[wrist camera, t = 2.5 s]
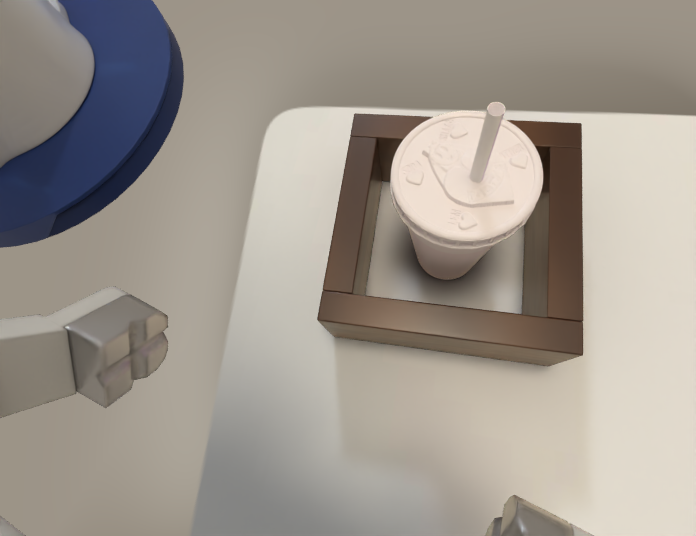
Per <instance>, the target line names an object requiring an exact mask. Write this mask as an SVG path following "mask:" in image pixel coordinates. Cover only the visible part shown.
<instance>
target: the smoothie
mask: <svg viewBox="0 0 696 536" xmlns="http://www.w3.org/2000/svg"><path fill="white" fill-rule="evenodd" d="M504 112H505V107H504V105H503V104H502V103H499V102H493V103H491V104H490V105H489V106H488V108H487V112H486V113H484V112H478V111H455V112H449V113H445V114H441V115H438V116H435V117H433V118H431V119H428V120H427V121H425V122H423V123H421V124H420V125H418V126H417V127H416V128H414V129H413V130H412V131H411V132H410V133H409V134H408V135H407V136H406V137H405V138H404V140H403V141H402V142H401V144H400V145H399V147H398V149H397V151H396V153H395V156H394V159H393V162H392V167H391V180H390V192H391V196H392V200H393V204H394V207H395V209H396V211H397V212H398V214H399V216H400V217H401V219H402V221H403V222H404V223H405V224H406V225H407V226H408V229H409V233H410V236H411V239H412V242H413V245H414V248H415V252H416V255H417V258H418V261H419V263H420V265H421V267H422V268H423V269H424V270H425V271H426V272H427V273H428V274H430V275H431V276H433V277H436V278H439V279H444V280H450V279H455V278H459V277H461V276H463V275H464V274H466V273H467V272H468V271H469V270H470V269H471V268H472V267H473V266H474V265H475V264H476V263H477V262H478V261H479V260H480V259H481V258H482V257H483V256H484V255H485V254H486V253H487V252H488V251H489V250H490V249H491V248H492V247H493V246H494V244H496V243H498V242H500V241H502V240H504V239H506V238H508V237H510V236H512V235H513V234H514V233H515V232H516V231H517V230H518V229H519V228H521V227H522V226H523V225H524V224H525V223H526V221H527V220H528V218H529V216H530V215H531V213H532V211H533V210H534V208H535V205H536V203H537V201H538V199H539V196H540V193H541V190H542V185H543V168H542V162H541V159H540V156H539V154H538V151H537V150H536V148H535V146H534V144H533V143H532V142H531V140H530V139H529V138H528V137H527V135H526V134H525V133H524V132H522V131H521V130H520V129H519V128H518V127H516V126H515V125H514V124H512V123H510V122H509V121H507V120H505V119H503V115H504Z"/></svg>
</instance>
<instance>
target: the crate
mask: <svg viewBox="0 0 696 536" xmlns="http://www.w3.org/2000/svg"><path fill="white" fill-rule="evenodd" d="M431 118H433V117H422V116H399V115H376V114H354V119H353V124H352V130H351V135H350V136H351V137H350V141H349V147H348V152H347V158H346V163H345V169H344V174H343V180H342V186H341V191H340V197H339V202H338V208H337V213H336V219H335V224H334V230H333V235H332V241H331V246H330V252H329V257H328V263H327V268H326V274H325V280H324V285H323V292H322V296H321V302H320V307H319V313H318V318H317V320H318V321H319V322H320V323H321V324H322V325H323V326H324V327H325V328H326V329H327V330H328V331H329V332H330V333H331V334H332V335H333V336H334V337H341V338H348V339H355V340H362V341H370V342H377V343H384V344H391V345H399V346H406V347H413V348H420V349H427V350H435V351H442V352H449V353H456V354H464V355H471V356H478V357H485V358H492V359H500V360H507V361H514V362H521V363H529V364H536V365H543V366H551V365H554V364H557V363H560V362H564V361H567V360H570V359H573V358H576V357H579V356H582V355H583V322H582V321H583V236H582V149H581V148H582V127H581V123H560V122H537V121H514V120H507V121H509V122H510V123H512V124H514V125H515V126H516V127H518V128H519V129H520V130H521V131H522V132H524V133H525V134H526V135H527V137H528V138H529V139H530V140H531V142H532V143H533V144H534V146H535V148H536V150H537V151H538V154H539V156H540V159H541V162H542V168H543V185H542V190H541V193H540V196H539V199H538V201H537V203H536V205H535V208H534V210H533V211H532V213H531V215H530V216H529V218H528V220H527V221H526V223H525V244H524V272H523V301H522V314H514V313H506V312H497V311H489V310H481V309H472V308H464V307H456V306H447V305H439V304H431V303H422V302H414V301H405V300H397V299H389V298H380V297H372V296H365V293H366V286H367V279H368V273H369V266H370V259H371V253H372V246H373V239H374V232H375V226H376V219H377V212H378V206H379V199H380V192H381V186H382V181H390V180H391V167H392V162H393V159H394V156H395V153H396V151H397V149H398V147H399V145H400V144H401V142H402V141H403V140H404V138H405V137H406V136H407V135H408V134H409V133H410V132H411V131H412V130H413V129H414V128H416V127H417V126H418V125H420V124H421V123H423V122H425V121H427V120H428V119H431Z"/></svg>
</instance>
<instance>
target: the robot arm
mask: <svg viewBox="0 0 696 536" xmlns="http://www.w3.org/2000/svg"><path fill="white" fill-rule="evenodd" d="M94 68H95V61H94V54H93V50H92V48H91V45H90V43H89V42H88V40H87V39H86V38H85V37H84V36H83V35H82V34H81V33H80V32H79V31H78V30H76V29H75V28H74V27H73V26H72V25H71V24H70V22H69V18H68V14H67V11H66V9H65V7H64V6H63V5H62V4H61V3H60V2H59V1H58V0H0V168H1V167H2V166H3V165H4V164H5V163H6V162H8V161H9V160H11V159H13V158H15V157H16V156H18V155H21V154H23V153H25V152H27V151H29V150H31V149H33V148H35V147H37V146H38V145H40V144H42V143H43V142H45V141H46V140H48V139H49V138H50V137H52V136H53V135H54V134H55V133H57V132H58V131H59V130H60V129H61V128H62V127H63V126H64V125H65V124H66V123H67V122H68V121H69V120H70V119H71V118H72V117H73V116H74V114H75V113H76V112H77V110H78V109H79V107H80V106H81V104H82V103H83V101H84V99H85V97H86V96H87V94H88V91H89V89H90V86H91V83H92V80H93V76H94ZM167 327H168V317H167V315H166V314H164V313H163V312H161V311H159V310H157V309H155V308H154V307H152V306H150V305H148V304H147V303H145V302H143V301H141V300H140V299H138V298H136V297H134V296H132V295H130V294H128V293H126V292H124V291H123V290H121V289H119V288H117V287H106V288H104V289H102V290H100V291H98V292H96V293H94V294H91V295H89V296H87V297H85V298H83V299H81V300H79V301H77V302H75V303H73V304H71V305H69V306H67V307H65V308H63V309H60V310H58V311H56V312H54V313H52V314H50V315H48V316H46V317H44V316H42V315H40V314H39V315H31V316H23V317H15V318H6V319H0V418H1V417H5V416H7V415H11V414H14V413H17V412H20V411H23V410H27V409H30V408H33V407H36V406H39V405H42V404H45V403H49V402H52V401H55V400H58V399H61V398H64V397H68V396H71V395H74V394H76V391H77V392H79V393H80V394H82V395H84V396H86V397H87V398H89V399H91V400H92V401H94V402H96V403H98V404H99V405H101V406H103V407H105V408H107V407H108V406H110V405H111V404H112V403H114V402H115V401H116V400H117V399H119V398H120V397H122V396H123V395H124V394H126V393H127V392H128V391H129V390H131V388H132V385H133V382H134V380H137V379H141V378H146V377H148V376H149V375H150V374H152V373H153V372H154V371H156V370H157V369H158V367H159V366H160V365H161V363H162V362H163V361H164V359H165V357H166V354H167V351H168V341H167V339H166V336H165V334H164V333H163V331H164V330H165V329H166V328H167ZM0 536H26V535H24V534H23V533H22V532H21V531H19V530H18V529H17V528H15V527H14V526H13V525H11V524H10V523H9V522H8V521H6V520H5V519H4V518H2V517H1V516H0ZM485 536H594V535H592V534H590V533H588V532H586V531H584V530H582V529H580V528H578V527H576V526H574V525H572V524H570V523H568V522H567V521H565V520H563V519H561V518H559V517H557V516H556V515H554V514H552V513H550V512H548V511H546V510H544V509H542V508H540V507H538V506H536V505H534V504H532V503H530V502H528V501H526V500H524V499H522V498H520V497H518V496H516V495H513V496H511V497H510V498H509V499H508V500H507V502H506V503H505V504H504V509H503V517H499V518H494V520H493V522H492V523H491V525H490V526H489V528H488V530H487V532H486V535H485Z"/></svg>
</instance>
